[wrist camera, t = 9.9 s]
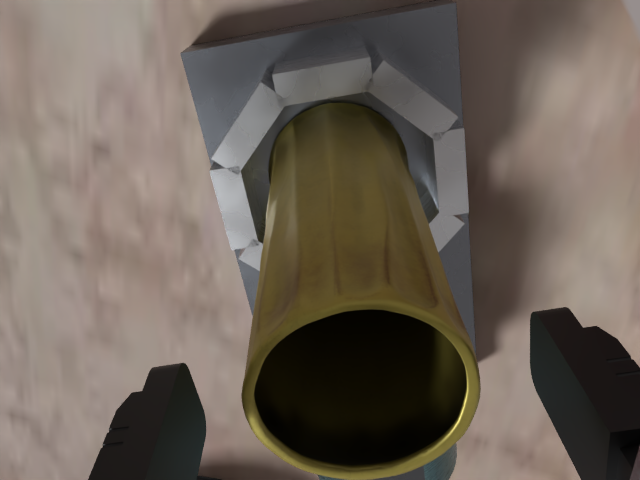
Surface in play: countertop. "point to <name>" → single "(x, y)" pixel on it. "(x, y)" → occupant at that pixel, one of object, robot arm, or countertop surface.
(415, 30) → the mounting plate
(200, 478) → the dog bowl
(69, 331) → the countertop surface
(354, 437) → the vase
